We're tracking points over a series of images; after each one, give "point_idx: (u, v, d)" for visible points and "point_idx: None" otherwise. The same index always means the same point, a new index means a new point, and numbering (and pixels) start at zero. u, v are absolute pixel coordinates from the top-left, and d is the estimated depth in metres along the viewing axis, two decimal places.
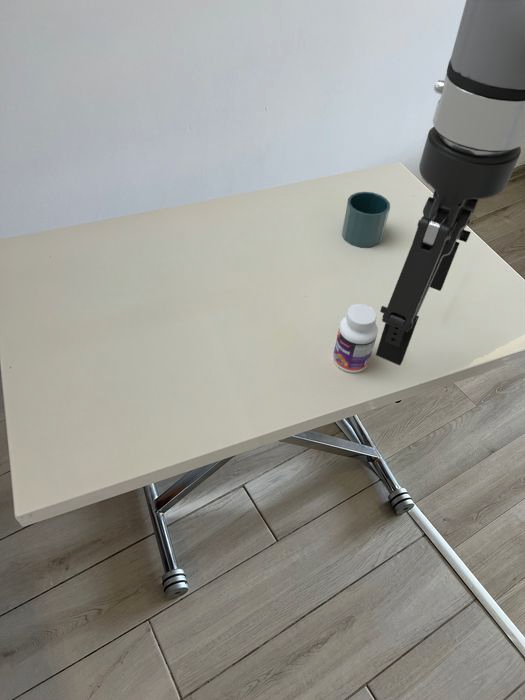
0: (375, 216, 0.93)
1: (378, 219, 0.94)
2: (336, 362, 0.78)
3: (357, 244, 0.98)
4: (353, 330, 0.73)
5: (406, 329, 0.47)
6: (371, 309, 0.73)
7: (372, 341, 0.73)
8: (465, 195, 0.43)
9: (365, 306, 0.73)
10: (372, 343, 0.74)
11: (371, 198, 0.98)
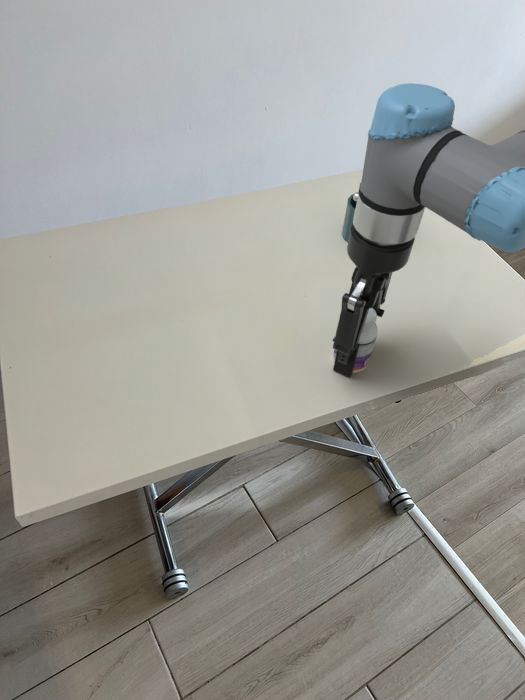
0: None
1: None
2: None
3: None
4: None
5: (348, 355, 0.70)
6: (371, 309, 0.73)
7: (372, 341, 0.73)
8: (376, 271, 0.62)
9: None
10: (372, 343, 0.74)
11: None
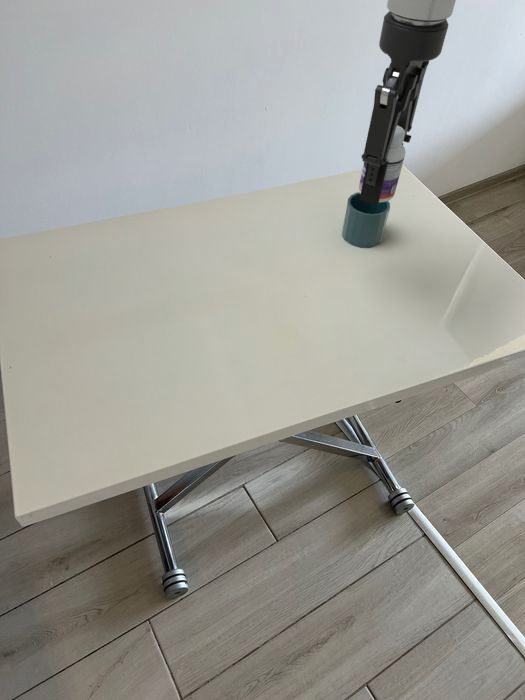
0: (375, 216, 0.93)
1: (378, 219, 0.94)
2: None
3: (357, 244, 0.98)
4: None
5: (378, 165, 0.69)
6: (399, 127, 0.73)
7: (400, 161, 0.73)
8: (409, 57, 0.62)
9: None
10: (400, 164, 0.74)
11: None
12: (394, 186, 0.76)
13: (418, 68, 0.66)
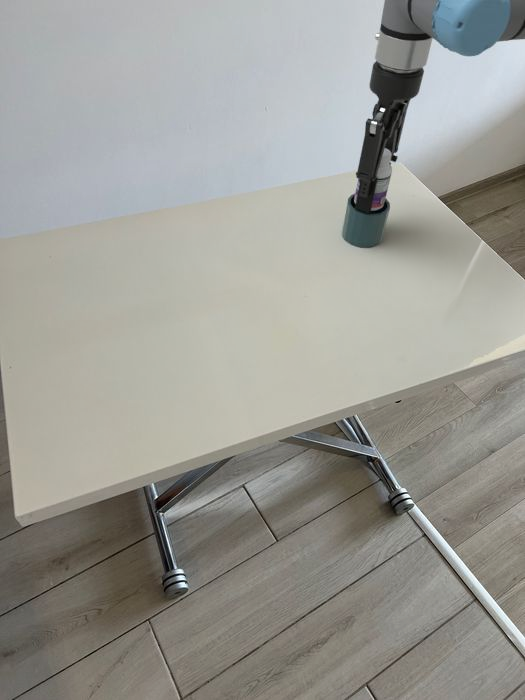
0: (375, 216, 0.93)
1: (378, 219, 0.94)
2: None
3: (357, 244, 0.98)
4: None
5: (369, 181, 0.86)
6: (387, 150, 0.89)
7: (387, 177, 0.89)
8: (393, 97, 0.78)
9: None
10: (387, 180, 0.90)
11: None
12: (383, 197, 0.92)
13: (401, 104, 0.83)
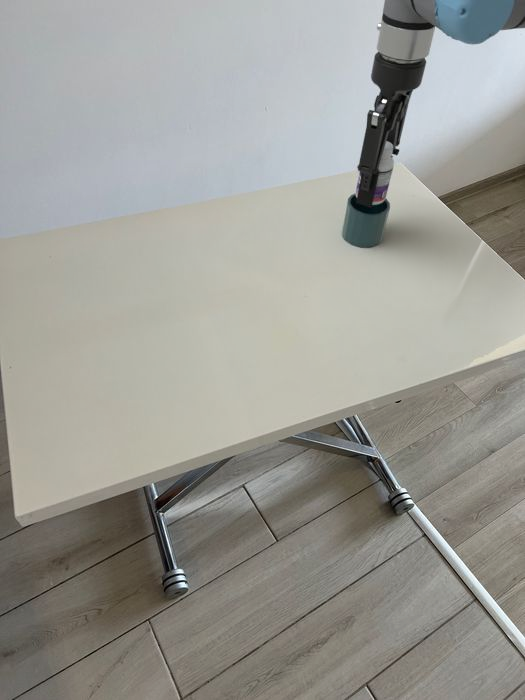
0: (375, 216, 0.93)
1: (378, 219, 0.94)
2: None
3: (357, 244, 0.98)
4: None
5: (371, 174, 0.85)
6: (388, 143, 0.88)
7: (389, 170, 0.88)
8: (395, 88, 0.77)
9: None
10: (389, 173, 0.89)
11: None
12: (385, 191, 0.91)
13: (403, 95, 0.82)
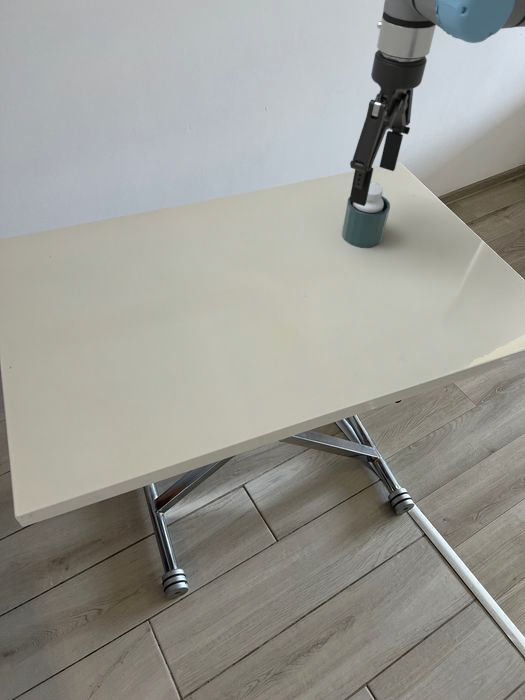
0: (375, 216, 0.93)
1: (378, 219, 0.94)
2: None
3: (357, 244, 0.98)
4: None
5: (364, 170, 0.81)
6: (378, 185, 0.94)
7: (379, 211, 0.94)
8: (395, 86, 0.77)
9: (374, 183, 0.94)
10: None
11: None
12: None
13: (403, 95, 0.81)
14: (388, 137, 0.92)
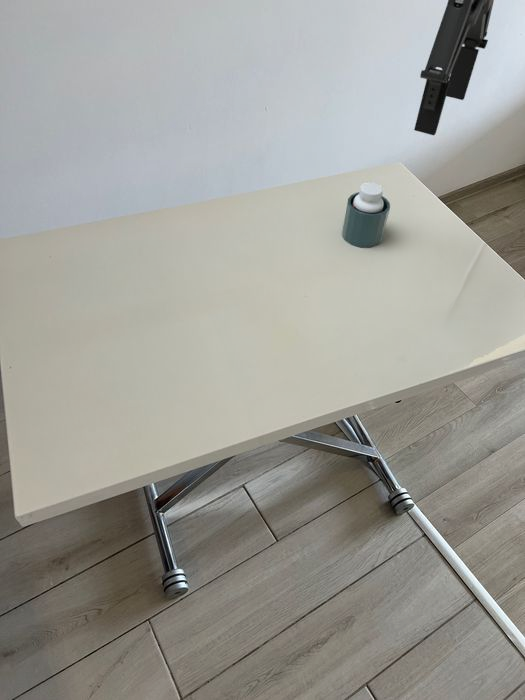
0: (375, 216, 0.93)
1: (378, 219, 0.94)
2: None
3: (357, 244, 0.98)
4: (364, 201, 0.93)
5: (442, 78, 0.61)
6: (378, 185, 0.94)
7: (379, 211, 0.94)
8: None
9: (374, 183, 0.94)
10: None
11: None
12: None
13: None
14: (459, 54, 0.73)
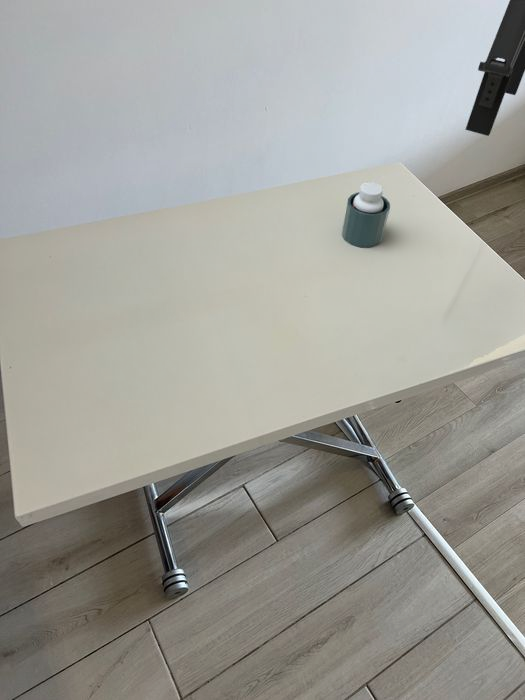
0: (375, 216, 0.93)
1: (378, 219, 0.94)
2: None
3: (357, 244, 0.98)
4: (364, 201, 0.93)
5: (506, 72, 0.53)
6: (378, 185, 0.94)
7: (379, 211, 0.94)
8: None
9: (374, 183, 0.94)
10: None
11: None
12: None
13: None
14: None
